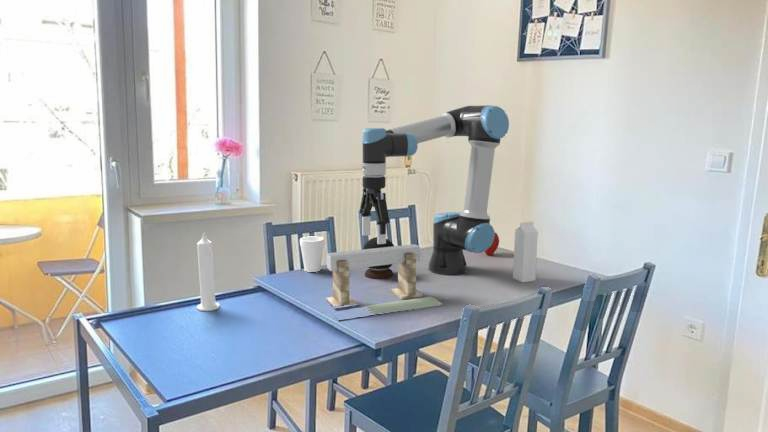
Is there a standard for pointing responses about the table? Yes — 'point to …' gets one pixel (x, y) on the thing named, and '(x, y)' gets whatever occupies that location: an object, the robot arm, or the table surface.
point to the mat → (404, 305)
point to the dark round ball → (381, 270)
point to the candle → (206, 275)
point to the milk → (525, 252)
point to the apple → (493, 246)
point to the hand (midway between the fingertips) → (373, 239)
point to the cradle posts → (403, 291)
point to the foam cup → (312, 252)
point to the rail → (372, 256)
